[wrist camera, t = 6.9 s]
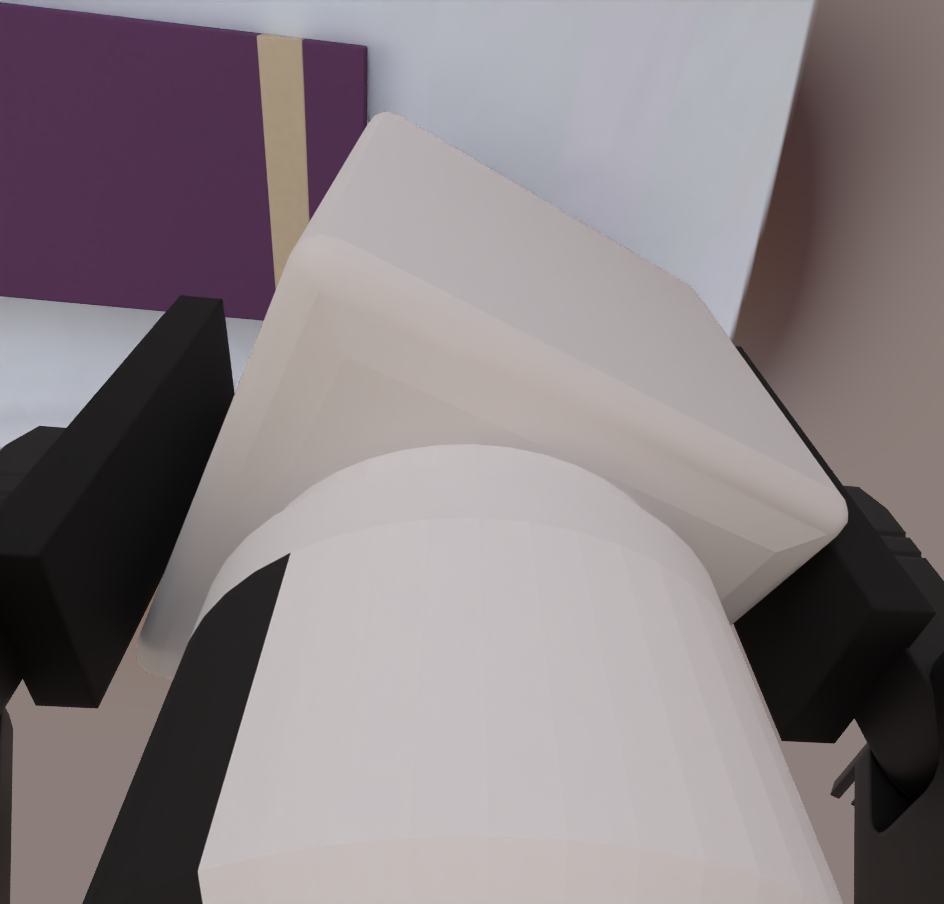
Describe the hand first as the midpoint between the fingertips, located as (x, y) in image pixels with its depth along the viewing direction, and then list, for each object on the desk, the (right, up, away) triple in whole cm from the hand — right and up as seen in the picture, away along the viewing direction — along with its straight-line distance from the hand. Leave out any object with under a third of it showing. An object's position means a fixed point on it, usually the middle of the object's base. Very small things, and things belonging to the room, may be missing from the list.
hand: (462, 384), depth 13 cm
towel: (-17, +10, +13) cm, 24 cm away
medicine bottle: (0, +1, +1) cm, 2 cm away
